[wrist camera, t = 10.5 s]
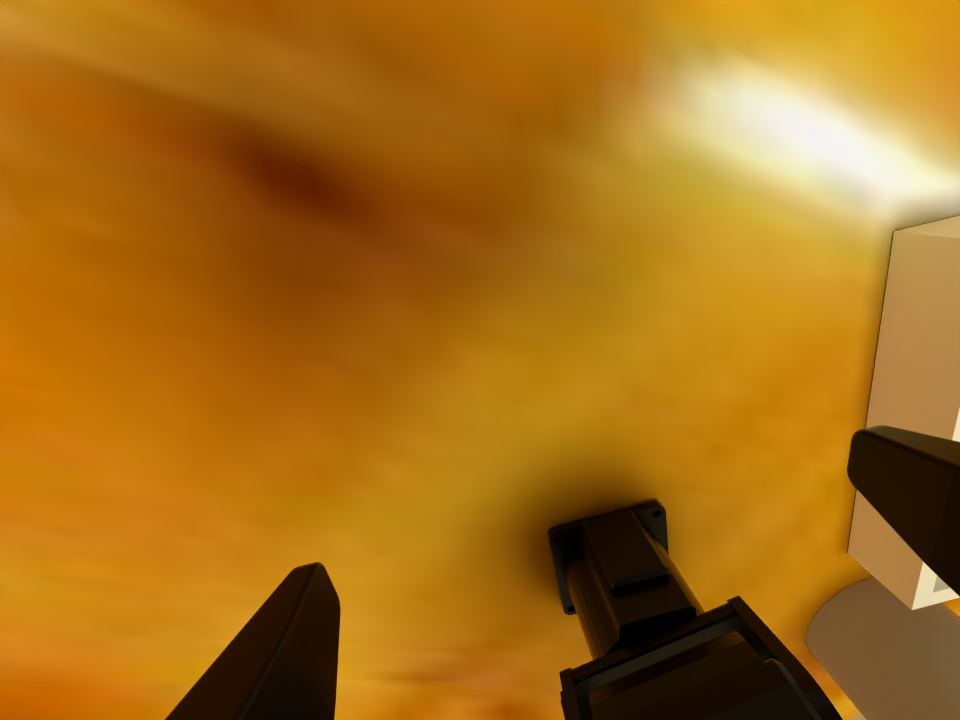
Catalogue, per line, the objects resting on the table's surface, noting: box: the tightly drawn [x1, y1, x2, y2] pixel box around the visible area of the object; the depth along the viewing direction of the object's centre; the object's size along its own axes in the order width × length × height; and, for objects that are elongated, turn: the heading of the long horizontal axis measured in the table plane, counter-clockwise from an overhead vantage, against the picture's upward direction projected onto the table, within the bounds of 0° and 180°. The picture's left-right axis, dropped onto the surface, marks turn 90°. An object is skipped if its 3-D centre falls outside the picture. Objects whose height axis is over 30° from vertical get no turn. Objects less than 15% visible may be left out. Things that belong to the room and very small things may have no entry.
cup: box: [806, 576, 960, 720], centre depth 26 cm, size 8×8×10 cm
